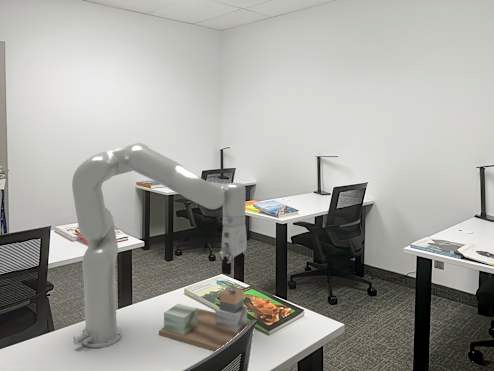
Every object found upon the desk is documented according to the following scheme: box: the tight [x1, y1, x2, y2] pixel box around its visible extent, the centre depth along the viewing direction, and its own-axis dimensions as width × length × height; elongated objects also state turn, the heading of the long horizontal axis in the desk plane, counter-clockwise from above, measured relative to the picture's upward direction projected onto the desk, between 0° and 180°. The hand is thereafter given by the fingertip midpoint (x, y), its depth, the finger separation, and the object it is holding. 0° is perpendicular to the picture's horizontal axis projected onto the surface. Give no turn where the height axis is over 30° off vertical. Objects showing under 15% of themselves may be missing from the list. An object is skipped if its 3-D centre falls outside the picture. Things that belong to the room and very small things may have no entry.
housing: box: [219, 286, 245, 313], centre depth 145 cm, size 6×6×7 cm
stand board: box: [158, 303, 252, 352], centre depth 145 cm, size 21×24×8 cm
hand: (233, 269), depth 144 cm, fingers open, 9 cm apart
